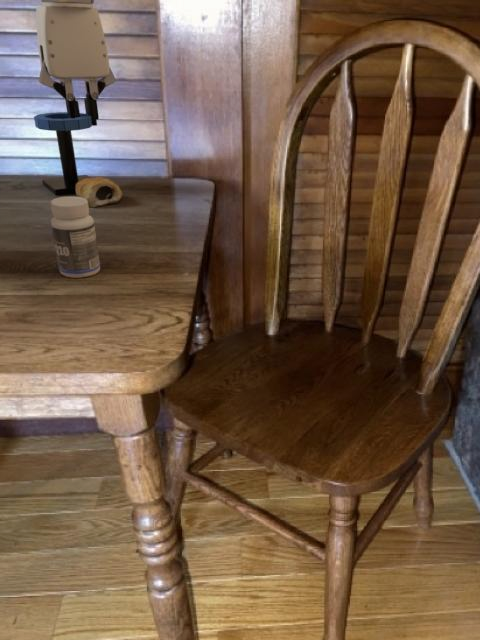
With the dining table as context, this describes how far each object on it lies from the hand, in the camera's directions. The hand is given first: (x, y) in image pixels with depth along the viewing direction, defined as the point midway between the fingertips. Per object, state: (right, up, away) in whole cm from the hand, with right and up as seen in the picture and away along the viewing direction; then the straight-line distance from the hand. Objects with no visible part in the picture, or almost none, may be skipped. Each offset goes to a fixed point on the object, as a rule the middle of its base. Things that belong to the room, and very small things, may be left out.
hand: (84, 124), depth 97 cm
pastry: (+3, -14, -3) cm, 15 cm away
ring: (-3, -1, -2) cm, 3 cm away
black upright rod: (-3, -10, +3) cm, 11 cm away
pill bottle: (+9, -30, -29) cm, 43 cm away
